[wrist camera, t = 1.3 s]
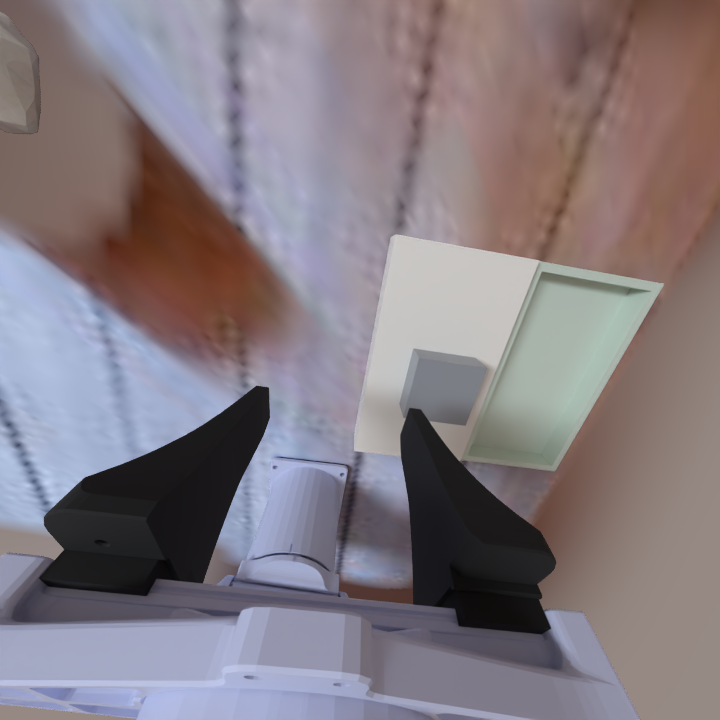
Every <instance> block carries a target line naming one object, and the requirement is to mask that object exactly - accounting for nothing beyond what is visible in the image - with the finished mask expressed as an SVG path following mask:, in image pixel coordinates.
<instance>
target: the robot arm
mask: <svg viewBox="0 0 720 720" xmlns="http://www.w3.org/2000/svg"><path fill="white" fill-rule="evenodd" d="M269 418H270V409H269V388H268V387H261V386H256V387H254V388H253V389H252V390H250V391H249V392H248V393H247V394H245V395H244V396H243V397H241V398H240V399H239V400H238V401H236V402H235V403H234V404H232V405H231V406H230V407H228V408H227V409H226V410H224V411H223V412H221V413H220V414H219V415H217V416H216V417H214V418H213V419H211V420H210V421H208V422H207V423H205V424H204V425H202V426H200V427H199V428H197V429H195V430H194V431H192V432H190V433H188V434H187V435H185V436H183V437H181V438H179V439H177V440H175V441H173V442H171V443H169V444H167V445H165V446H163V447H161V448H159V449H157V450H155V451H152V452H150V453H148V454H146V455H143V456H141V457H139V458H136V459H134V460H131V461H129V462H126V463H124V464H121V465H119V466H116V467H113V468H110V469H107V470H105V471H102V472H99V473H96V474H94V475H91V476H88V477H85V478H84V479H83V480H82V481H81V482H79V483H78V484H77V485H76V486H75V487H74V488H73V489H72V490H71V491H70V492H69V493H68V494H67V495H66V496H65V497H64V498H62V499H61V500H60V501H59V502H58V503H57V504H56V505H55V506H54V507H53V508H52V509H51V510H50V511H49V512H48V513H47V514H46V515H45V517H44V526H45V527H46V529H47V530H48V532H49V533H50V534H51V535H52V536H53V537H54V538H55V540H56V541H57V542H58V543H59V544H60V545H61V546H62V547H63V548H64V551H63V552H62V553H61V554H60V555H59V556H58V557H57V558H56V560H55V561H54V560H53V559H51V558H48V557H44V556H36V555H26V554H17V553H6V554H3V555H2V556H1V557H0V704H2V705H13V706H23V707H33V708H42V709H52V710H61V711H71V712H79V713H88V714H98V715H107V716H117V717H125V718H134V719H136V720H641V719H640V717H639V715H638V713H637V711H636V710H635V708H634V706H633V704H632V702H631V700H630V698H629V697H628V695H627V693H626V691H625V689H624V687H623V685H622V683H621V681H620V679H619V678H618V676H617V674H616V672H615V670H614V668H613V666H612V664H611V663H610V661H609V659H608V657H607V655H606V653H605V651H604V650H603V648H602V646H601V644H600V642H599V640H598V638H597V636H596V634H595V632H594V631H593V629H592V627H591V625H590V623H589V621H588V619H587V617H586V616H585V614H584V613H583V612H581V611H573V610H563V609H546V610H543V609H542V606H541V604H540V602H539V599H541V598H542V594H541V592H540V589H539V587H538V585H537V584H538V583H539V582H540V581H542V580H543V579H544V578H545V577H547V576H548V575H549V574H550V573H551V572H552V571H553V570H554V568H555V565H556V560H555V558H554V556H553V554H552V552H551V550H550V548H549V546H548V544H547V543H546V541H545V539H544V537H543V535H542V534H541V532H540V531H539V530H538V529H536V528H535V527H534V526H532V525H531V524H529V523H528V522H527V521H525V520H524V519H523V518H521V517H520V516H519V515H517V514H516V513H515V512H513V511H512V510H511V509H510V508H508V507H507V506H506V505H505V504H503V503H502V502H501V501H500V500H499V499H497V498H496V497H495V496H494V495H493V494H492V493H491V492H489V491H488V490H487V489H486V488H485V487H484V486H483V485H482V484H481V483H480V482H479V481H478V480H477V479H476V478H475V477H474V476H473V475H472V474H471V473H470V472H469V471H468V470H467V469H466V468H465V467H464V466H463V465H462V464H461V463H460V461H459V460H458V459H457V458H456V457H455V456H454V454H453V453H452V452H451V451H450V449H449V448H448V447H447V446H446V444H445V443H444V442H443V440H442V439H441V438H440V436H439V435H438V433H437V432H436V431H435V429H434V428H433V426H432V425H431V423H430V422H429V420H428V419H427V417H426V416H425V414H424V413H423V412H422V410H421V409H415V408H409V410H408V413H407V416H406V419H405V422H404V425H403V428H402V431H401V434H400V448H401V459H402V465H403V471H404V476H405V482H406V488H407V494H408V501H409V510H410V524H411V541H412V564H413V605H411V604H402V603H391V602H381V601H371V600H362V599H351V598H348V596H347V594H346V593H345V592H339V591H338V590H339V575H338V574H334V568H335V554H336V540H337V526H338V521H339V516H340V510H341V505H342V500H343V494H344V489H345V484H346V478H347V473H348V468H347V466H345V465H338V464H329V463H321V462H312V461H303V460H295V459H286V458H277V457H274V458H272V460H271V462H270V486H269V499H268V501H267V504H266V507H265V510H264V512H263V515H262V518H261V521H260V523H259V526H258V529H257V532H256V534H255V537H254V540H253V543H252V546H251V548H250V551H249V554H248V557H247V559H246V560H242V562H241V565H240V567H239V570H238V573H237V575H236V578H235V576H232V575H228V576H226V577H225V578H224V579H223V580H222V581H221V582H219V583H218V584H217V585H212V584H203V581H204V578H205V575H206V572H207V569H208V566H209V563H210V560H211V557H212V554H213V551H214V549H215V546H216V543H217V540H218V537H219V535H220V532H221V529H222V526H223V524H224V521H225V518H226V516H227V513H228V510H229V508H230V505H231V503H232V500H233V498H234V495H235V492H236V490H237V487H238V485H239V483H240V481H241V479H242V476H243V474H244V472H245V471H246V469H247V467H248V465H249V463H250V461H251V459H252V457H253V455H254V453H255V451H256V449H257V447H258V445H259V443H260V441H261V439H262V437H263V435H264V432H265V430H266V427H267V424H268V421H269ZM274 465H275V466H274ZM341 473H344V474H341Z"/></svg>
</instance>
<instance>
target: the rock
mask: <svg viewBox="0 0 720 720" xmlns="http://www.w3.org/2000/svg"><path fill="white" fill-rule="evenodd" d="M39 118H40V79H39V58H38V55H37V54H36V52H35V50H34V48H33V46H32V45H31V44H30V43H29V42H28V41H27V40H26V39H25V38H24V37H23V36H22V34H21V33H20V31H19V30H18V29H17V27H16V26H15V25H14V23H13V22H12V21H11V19H10V18H9V17H8V16H6V15H5V14H4V13H2V12H1V11H0V129H1V130H3V131H5V132H8V133H15V134H33V133H36V132H38V127H39Z"/></svg>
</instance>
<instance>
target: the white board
mask: <svg viewBox="0 0 720 720" xmlns="http://www.w3.org/2000/svg"><path fill="white" fill-rule="evenodd" d="M538 263H539V260H534V259H528V258H523V257H517V256H512V255H506V254H501V253H495V252H490V251H484V250H479V249H473V248H468V247H462V246H457V245H451V244H446V243H440V242H435V241H429V240H424V239H418V238H413V237H407V236H402V235H396V234H395V235H394V236H392V237H391V239H390V245H389V250H388V256H387V261H386V266H385V272H384V277H383V282H382V288H381V293H380V298H379V304H378V309H377V314H376V320H375V325H374V331H373V336H372V341H371V347H370V352H369V357H368V363H367V368H366V373H365V379H364V384H363V389H362V395H361V400H360V406H359V411H358V416H357V422H356V427H355V432H354V451H359V452H367V453H376V454H384V455H392V456H401V448H400V434H401V431H402V428H403V425H404V422H405V419H406V418H403V415H402V412H401V408H400V405H399V403H400V399H401V395H402V391H403V387H404V383H405V379H406V375H407V371H408V367H409V363H410V359H411V355H412V351H413V348H414V349H421V350H428V351H434V352H441V353H448V354H454V355H461V356H467V357H474V358H476V359H478V360H479V361H480V362H481V363H482V364H483V365H485V366H486V367H487V371H486V373H485V376H484V379H483V381H482V384H481V387H480V389H479V392H478V395H477V397H476V400H475V402H474V405H473V408H472V410H471V413H470V416H469V418H468V421H467V424H466V426H463V425H455V424H447V423H440V422H432V421H429V422H430V423H431V425H432V426H433V428H434V429H435V431H436V432H437V433H438V435H439V436H440V438H441V439H442V440H443V442H444V443H445V444H446V446H447V447H448V448H449V449H450V451H451V452H452V453H453V454H454V456H455V457H456V458H457V459H458V460H459V461H461V458H462V456H463V453H464V451H465V448H466V446H467V443H468V440H469V438H470V435H471V433H472V430H473V428H474V425H475V423H476V420H477V418H478V415H479V413H480V410H481V408H482V405H483V402H484V400H485V397H486V395H487V392H488V390H489V387H490V385H491V382H492V380H493V377H494V375H495V372H496V370H497V367H498V364H499V362H500V359H501V357H502V354H503V352H504V349H505V347H506V344H507V342H508V339H509V337H510V334H511V332H512V329H513V326H514V324H515V321H516V319H517V316H518V314H519V311H520V309H521V306H522V304H523V301H524V299H525V296H526V294H527V291H528V288H529V286H530V283H531V281H532V278H533V276H534V273H535V271H536V268H537V266H538Z"/></svg>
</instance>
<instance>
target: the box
mask: <svg viewBox="0 0 720 720" xmlns="http://www.w3.org/2000/svg"><path fill="white" fill-rule="evenodd" d="M663 285H664V284H662V283H656V282H651V281H645V280H640V279H634V278H629V277H623V276H618V275H612V274H607V273H601V272H596V271H590V270H585V269H579V268H574V267H568V266H563V265H557V264H552V263H546V262H541V261H539V263H538V266H537V268H536V271H535V273H534V276H533V278H532V281H531V283H530V286H529V288H528V291H527V294H526V296H525V299H524V301H523V304H522V306H521V309H520V311H519V314H518V316H517V319H516V321H515V324H514V326H513V329H512V332H511V334H510V337H509V339H508V342H507V344H506V347H505V349H504V352H503V354H502V357H501V359H500V362H499V364H498V367H497V370H496V372H495V375H494V377H493V380H492V382H491V385H490V387H489V390H488V392H487V395H486V397H485V400H484V402H483V405H482V408H481V410H480V413H479V415H478V418H477V420H476V423H475V425H474V428H473V430H472V433H471V435H470V438H469V440H468V443H467V446H466V448H465V451H464V453H463V456H462V458H461V460H465V461H473V462H481V463H490V464H498V465H506V466H515V467H523V468H531V469H539V470H548V471H556V469H557V467H558V465H559V464H560V462H561V460H562V459H563V457H564V455H565V453H566V452H567V450H568V448H569V447H570V445H571V443H572V441H573V440H574V438H575V436H576V435H577V433H578V431H579V429H580V428H581V426H582V424H583V423H584V421H585V419H586V417H587V416H588V414H589V412H590V411H591V409H592V407H593V405H594V404H595V402H596V400H597V399H598V397H599V395H600V393H601V392H602V390H603V388H604V386H605V385H606V383H607V381H608V380H609V378H610V376H611V374H612V373H613V371H614V369H615V368H616V366H617V364H618V362H619V361H620V359H621V357H622V356H623V354H624V352H625V350H626V349H627V347H628V345H629V344H630V342H631V340H632V338H633V337H634V335H635V333H636V332H637V330H638V328H639V326H640V325H641V323H642V321H643V320H644V318H645V316H646V314H647V313H648V311H649V309H650V308H651V306H652V304H653V302H654V301H655V299H656V297H657V296H658V294H659V292H660V290H661V289H662V287H663Z"/></svg>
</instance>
